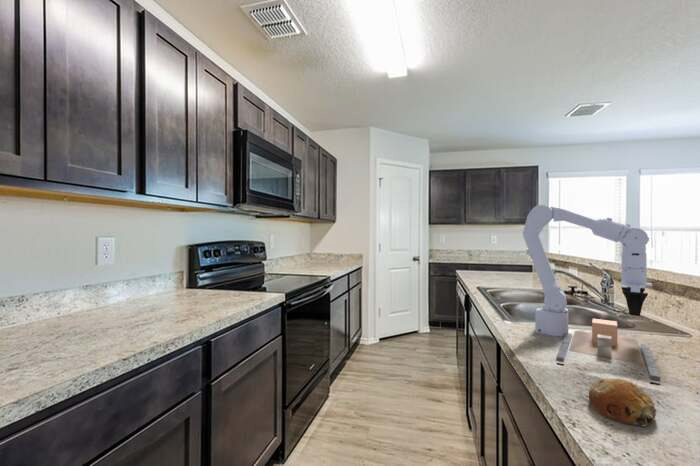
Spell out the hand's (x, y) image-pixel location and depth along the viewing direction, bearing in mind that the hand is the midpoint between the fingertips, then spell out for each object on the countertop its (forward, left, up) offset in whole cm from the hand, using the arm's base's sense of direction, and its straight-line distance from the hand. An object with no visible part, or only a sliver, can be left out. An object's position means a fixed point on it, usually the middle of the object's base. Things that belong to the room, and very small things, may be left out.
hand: (633, 313), depth 100 cm
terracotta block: (-7, -3, -9) cm, 12 cm away
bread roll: (-4, -49, -11) cm, 50 cm away
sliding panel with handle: (-7, -7, -10) cm, 14 cm away
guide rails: (-7, -16, -10) cm, 20 cm away
